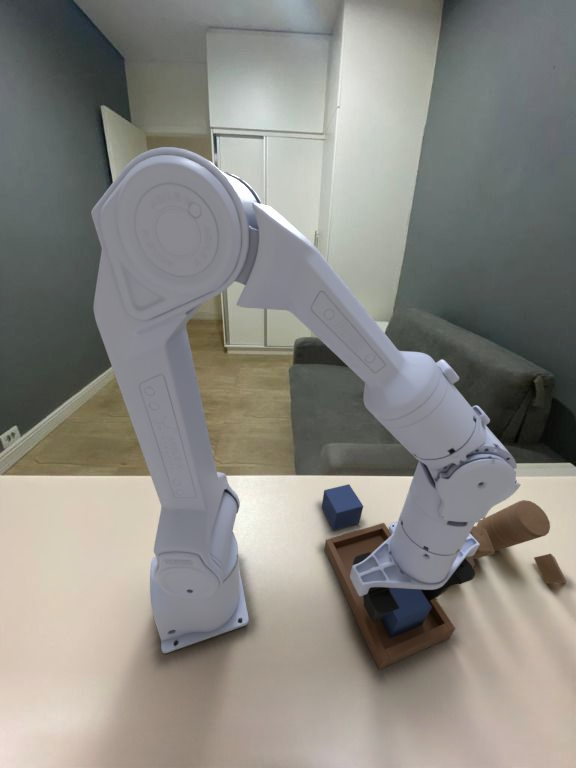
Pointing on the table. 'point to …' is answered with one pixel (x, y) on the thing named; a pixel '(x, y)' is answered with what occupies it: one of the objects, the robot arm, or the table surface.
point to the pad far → (341, 507)
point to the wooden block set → (516, 535)
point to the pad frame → (375, 634)
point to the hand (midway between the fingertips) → (398, 601)
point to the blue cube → (406, 611)
